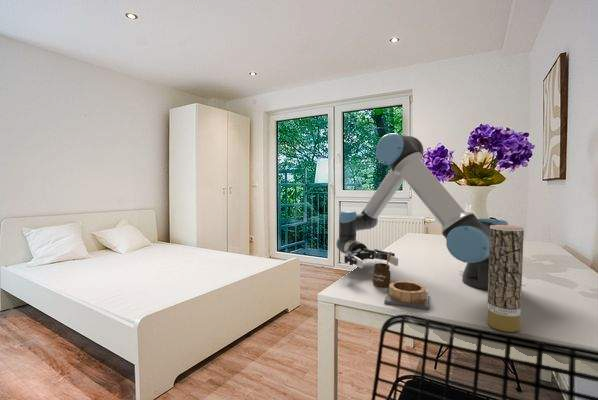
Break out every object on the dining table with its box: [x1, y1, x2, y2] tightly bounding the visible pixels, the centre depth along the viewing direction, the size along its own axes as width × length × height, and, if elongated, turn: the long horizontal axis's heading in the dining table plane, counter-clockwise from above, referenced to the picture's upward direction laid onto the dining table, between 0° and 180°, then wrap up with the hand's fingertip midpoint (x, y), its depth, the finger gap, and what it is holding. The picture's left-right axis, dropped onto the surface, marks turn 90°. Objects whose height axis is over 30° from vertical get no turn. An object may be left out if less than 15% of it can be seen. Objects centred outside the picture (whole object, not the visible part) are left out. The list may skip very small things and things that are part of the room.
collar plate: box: [383, 280, 429, 311], centre depth 94 cm, size 12×12×4 cm
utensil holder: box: [372, 252, 392, 288], centre depth 107 cm, size 6×6×12 cm
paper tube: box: [486, 224, 525, 333], centre depth 75 cm, size 7×7×25 cm
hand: (379, 263), depth 108 cm, fingers open, 13 cm apart
